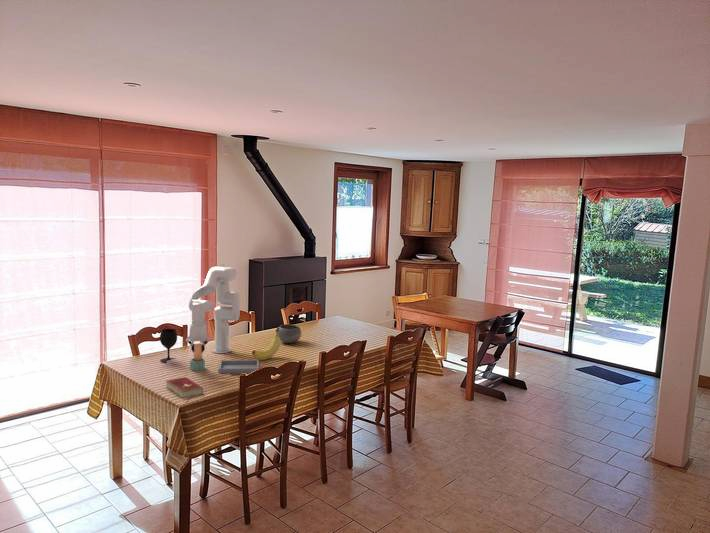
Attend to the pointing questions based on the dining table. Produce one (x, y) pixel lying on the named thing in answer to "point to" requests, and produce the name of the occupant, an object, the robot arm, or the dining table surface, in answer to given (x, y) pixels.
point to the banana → (268, 349)
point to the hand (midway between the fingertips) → (198, 351)
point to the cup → (197, 365)
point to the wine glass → (168, 341)
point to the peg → (198, 352)
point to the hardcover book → (184, 387)
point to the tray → (238, 366)
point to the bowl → (289, 333)
